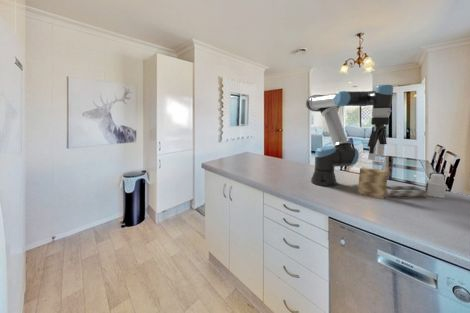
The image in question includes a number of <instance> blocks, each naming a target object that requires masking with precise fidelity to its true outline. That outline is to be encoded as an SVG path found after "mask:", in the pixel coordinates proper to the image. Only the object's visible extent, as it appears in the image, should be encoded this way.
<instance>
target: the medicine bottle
mask: <svg viewBox="0 0 470 313" xmlns="http://www.w3.org/2000/svg"><path fill="white" fill-rule="evenodd" d="M428 177H429V178H428V179H427V180H426V183H425V184H426V185H425V191H426V197H432V196H433V197H432V198H438V197H439V199H445V198H446V197H445V196H446V190H447V184H446V182H445V181H446V175H445V174H444V173H441V172H430V173H429V176H428Z"/></svg>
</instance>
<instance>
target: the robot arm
mask: <svg viewBox="0 0 470 313" xmlns="http://www.w3.org/2000/svg"><path fill="white" fill-rule="evenodd" d="M393 95H394V86H393V84H381V85H380V84H379V85H377V86H375V87H374V90H369V91H364V90H363V91H360V90H359V91H349V90H347V91H346V90H342V91H337V92H336V93H330V94H313V95H310V96H309V97H308V98H307V99H306V102H305V105H306V108H307V109H308V111H311V112H320V114H321V117H324V119H325V123H326V125H327V128H328V129H327V130H328V132H329V135H330V139H331V141H332V145H329V146H328V145H327V146H325V145H324V146H320V147H318V148H316V149H315V154H314V156H315V157H314V172H313V173H312V176H311V178H310V179H311V180H310V182H311V183H312V184H314V185H317V186H322V187H323V186H324V187H333V186H336V185H337V182H338V181H337V178H336V174H335V168H336V167H350V166H354V165H356V164H357V163H358V161H359V156H360V153H359V150H358V149H357V148H356V147H353V146H352V144H351V142H348V140H347V136H346V133H345V131H344V128H343V124H342V121H341V118H340V115H339V113H338V112H339V110H340V107H349V106H350V107H355V106H358V107H369V106H370V107H371V106H372V112H371V116H372V117H371V125H373V126H372V127H371V131H370V135H369V140H368V144H367V147H368V155H367V156H368V157H367V159H368V160H369V161H370V160H371V161H375V159H376V156H377V157H381V158H382V157H384V153H385V145H387V143H388V142H387V125H389V124H390V119H391V118H390V116H391V113H392V110H391V109H392V108H391V107H392V102H393ZM377 143H378V144H377ZM377 145H378V146H377ZM376 146H377V147H376ZM376 149H377V150H376ZM376 151H377V154H376Z"/></svg>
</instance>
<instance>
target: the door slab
mask: <svg viewBox="0 0 470 313" xmlns="http://www.w3.org/2000/svg"><path fill="white" fill-rule="evenodd" d="M388 175H389V170H383V169H377V168H371V167H370V168H369V167H361V168H359V177H358V188H357V194H362V195H366V196H370V197H375V198H377V199H384V198H386V186H388Z"/></svg>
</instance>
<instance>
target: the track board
mask: <svg viewBox="0 0 470 313" xmlns="http://www.w3.org/2000/svg"><path fill="white" fill-rule="evenodd" d="M385 197H388V198H405V199H407V198H408V199H409V198H410V199H411V198H412V199H413V198H414V199H416V198H417V199H419V198H420V199H426V198H427V196H426V189H422V188H420V187H417V186H415V185H412V186H411V185H387V186H386V195H385Z"/></svg>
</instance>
